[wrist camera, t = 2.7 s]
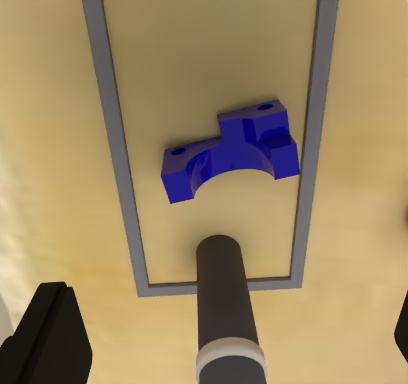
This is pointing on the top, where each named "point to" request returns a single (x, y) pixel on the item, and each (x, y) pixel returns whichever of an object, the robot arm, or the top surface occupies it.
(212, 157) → the cable holder
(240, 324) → the post
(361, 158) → the top surface
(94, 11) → the frame
